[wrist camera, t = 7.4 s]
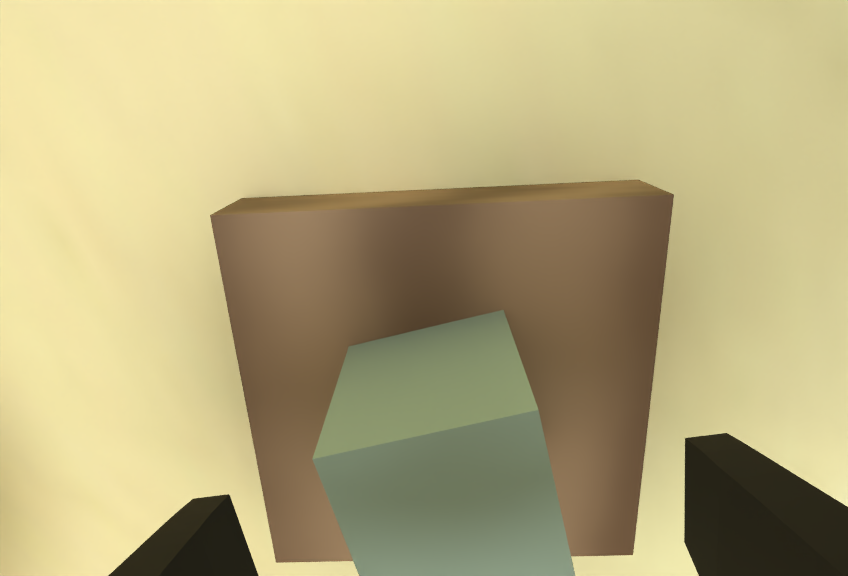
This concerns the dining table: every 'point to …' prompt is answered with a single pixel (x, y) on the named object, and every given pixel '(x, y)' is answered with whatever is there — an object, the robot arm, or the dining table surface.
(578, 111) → the dining table surface
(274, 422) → the walnut box
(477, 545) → the sage block
